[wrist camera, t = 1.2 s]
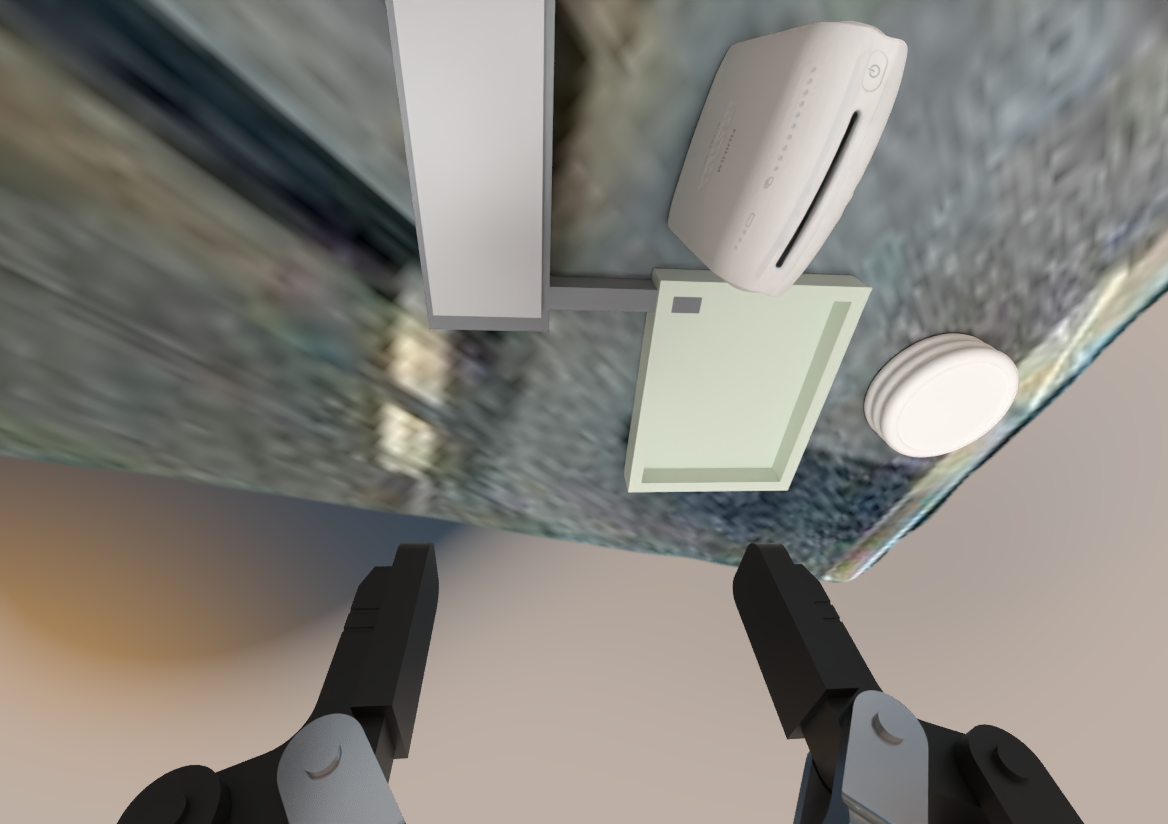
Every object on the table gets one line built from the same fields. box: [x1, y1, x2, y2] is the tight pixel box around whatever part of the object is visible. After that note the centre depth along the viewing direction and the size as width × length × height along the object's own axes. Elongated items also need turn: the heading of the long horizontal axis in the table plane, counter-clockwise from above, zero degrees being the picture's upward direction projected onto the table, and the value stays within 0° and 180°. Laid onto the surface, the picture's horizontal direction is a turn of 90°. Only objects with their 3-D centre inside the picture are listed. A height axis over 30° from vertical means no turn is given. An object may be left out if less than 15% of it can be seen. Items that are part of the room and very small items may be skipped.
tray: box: [624, 268, 872, 492], centre depth 36 cm, size 18×14×2 cm
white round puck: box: [864, 333, 1019, 457], centre depth 37 cm, size 10×10×4 cm
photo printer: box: [668, 20, 908, 297], centre depth 22 cm, size 10×4×12 cm, turn 164°
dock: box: [385, 0, 702, 332], centre depth 23 cm, size 18×16×9 cm
